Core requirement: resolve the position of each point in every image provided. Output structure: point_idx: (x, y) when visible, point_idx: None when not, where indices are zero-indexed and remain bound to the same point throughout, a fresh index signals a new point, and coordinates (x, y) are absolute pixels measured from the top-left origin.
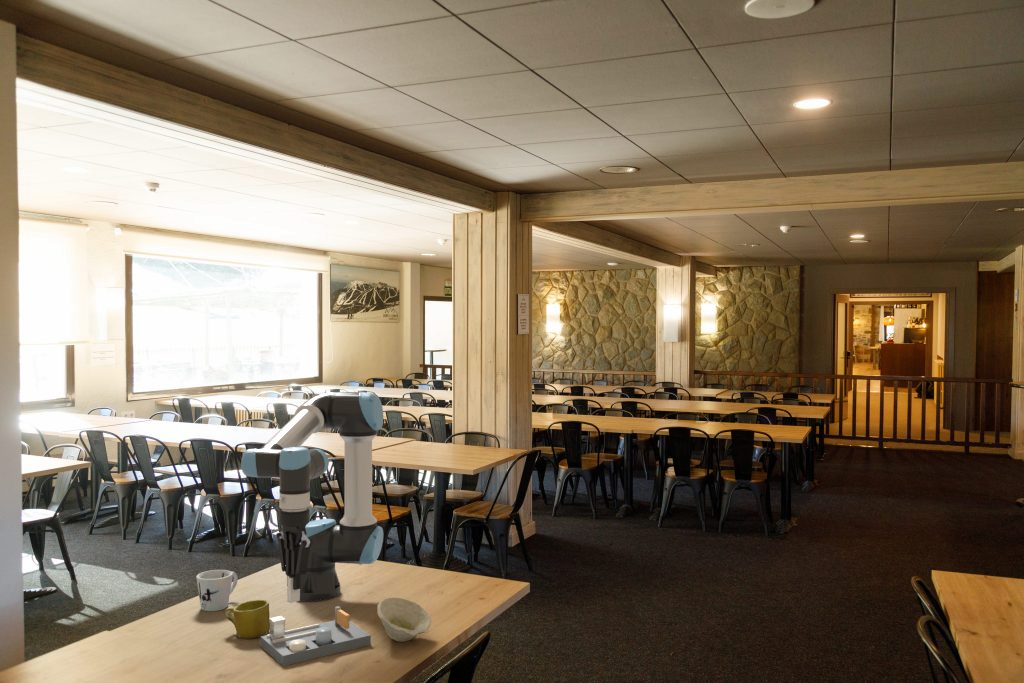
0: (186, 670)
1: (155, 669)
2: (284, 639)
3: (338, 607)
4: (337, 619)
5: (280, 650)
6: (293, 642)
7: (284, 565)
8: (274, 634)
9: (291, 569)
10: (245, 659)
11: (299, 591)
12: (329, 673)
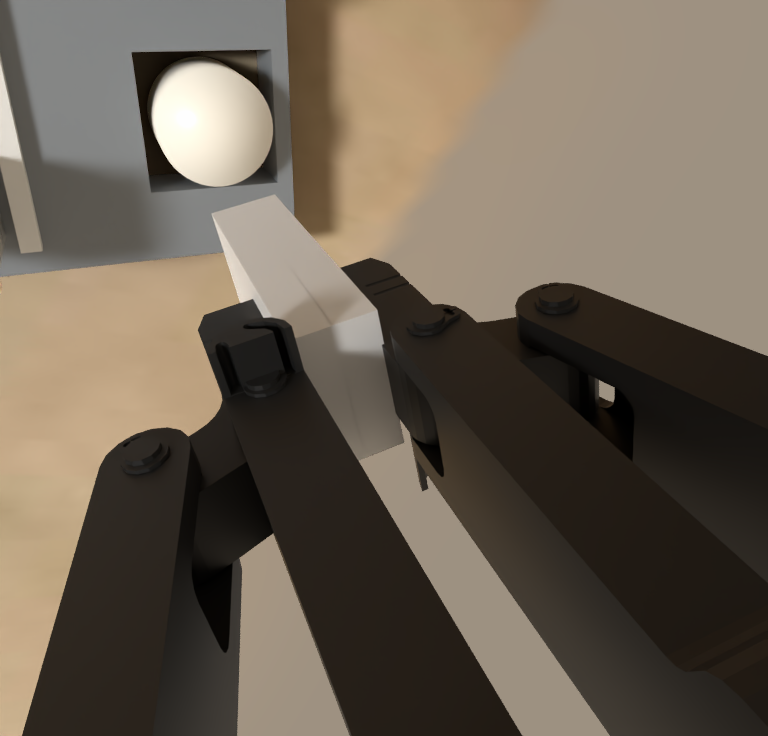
0: None
1: (15, 714)
2: (24, 165)
3: None
4: None
5: (203, 236)
6: (203, 157)
7: (235, 607)
8: (2, 247)
9: (452, 506)
10: (76, 381)
11: (304, 232)
12: (511, 32)
